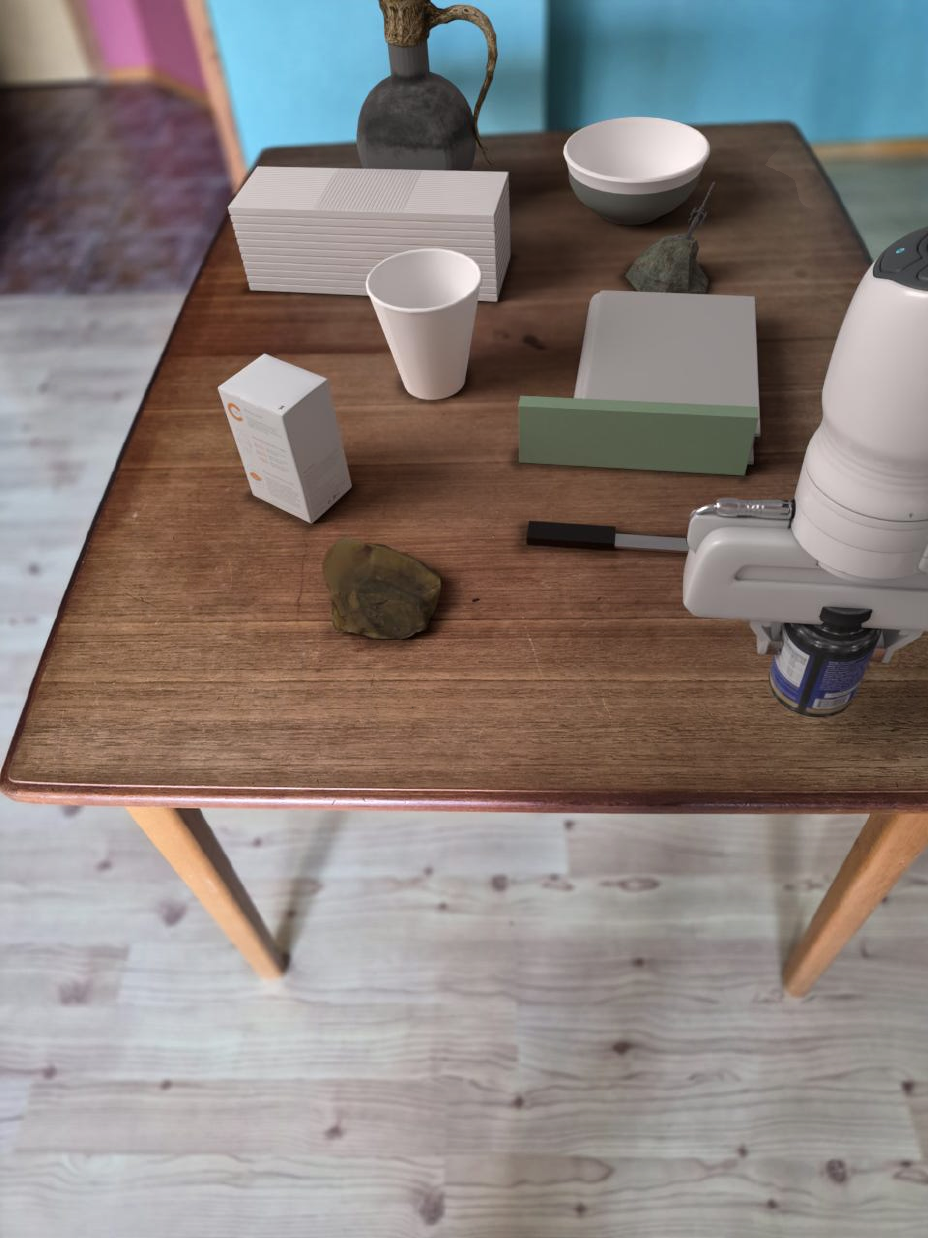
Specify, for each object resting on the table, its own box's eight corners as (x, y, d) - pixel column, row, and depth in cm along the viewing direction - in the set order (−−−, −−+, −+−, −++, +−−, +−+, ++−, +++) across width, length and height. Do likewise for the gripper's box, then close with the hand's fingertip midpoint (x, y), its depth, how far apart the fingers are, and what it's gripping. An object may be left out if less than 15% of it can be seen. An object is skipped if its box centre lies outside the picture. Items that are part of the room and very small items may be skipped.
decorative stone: (451, 568, 81) (448, 541, 78) (426, 648, 75) (422, 622, 72) (342, 554, 83) (335, 527, 80) (309, 631, 77) (301, 605, 74)
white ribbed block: (510, 256, 114) (508, 171, 106) (497, 301, 108) (493, 214, 99) (276, 247, 120) (257, 165, 111) (250, 290, 113) (227, 206, 105)
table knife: (737, 542, 80) (739, 534, 80) (738, 559, 79) (740, 552, 78) (529, 527, 83) (529, 520, 82) (526, 544, 82) (526, 537, 81)
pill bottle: (860, 667, 66) (903, 566, 58) (846, 732, 63) (889, 634, 54) (776, 644, 68) (805, 543, 60) (757, 706, 65) (786, 607, 56)
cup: (509, 375, 98) (507, 271, 89) (435, 428, 93) (424, 324, 84) (433, 337, 104) (423, 235, 94) (359, 386, 99) (340, 283, 89)
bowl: (711, 240, 114) (722, 175, 108) (565, 248, 115) (567, 183, 109) (690, 173, 126) (698, 111, 119) (558, 181, 127) (559, 120, 120)
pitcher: (382, 187, 129) (349, -66, 106) (510, 195, 125) (504, -66, 102) (358, 224, 122) (317, -37, 99) (492, 233, 118) (482, -36, 95)
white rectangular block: (754, 295, 98) (760, 433, 84) (748, 326, 101) (752, 464, 87) (590, 289, 101) (567, 421, 87) (588, 319, 104) (566, 451, 90)
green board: (744, 464, 87) (758, 406, 81) (744, 475, 86) (758, 417, 80) (521, 452, 90) (520, 395, 85) (519, 462, 89) (518, 405, 84)
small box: (353, 487, 88) (330, 377, 78) (311, 526, 85) (281, 416, 75) (293, 459, 92) (263, 350, 81) (251, 495, 88) (214, 387, 78)
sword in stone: (621, 295, 107) (629, 196, 98) (629, 261, 112) (637, 164, 103) (705, 302, 105) (722, 201, 96) (710, 267, 110) (726, 168, 101)
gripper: (691, 535, 51) (669, 676, 62) (1078, 553, 48) (985, 699, 59) (690, 464, 55) (670, 607, 66) (1048, 476, 52) (966, 626, 62)
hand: (821, 651), depth 62 cm, fingers closed on pill bottle, 6 cm apart
